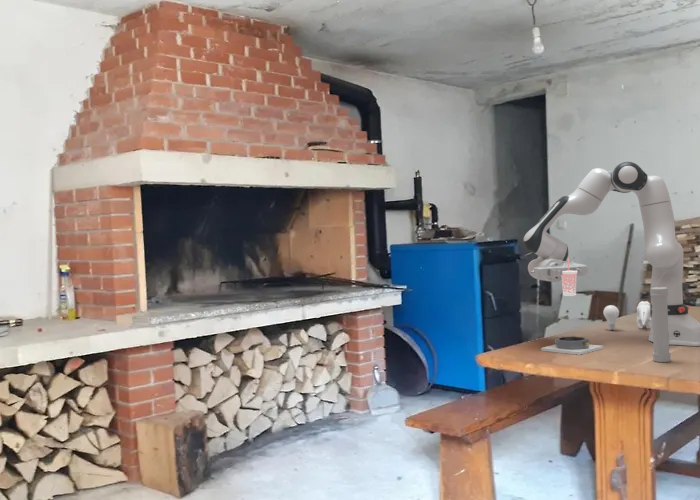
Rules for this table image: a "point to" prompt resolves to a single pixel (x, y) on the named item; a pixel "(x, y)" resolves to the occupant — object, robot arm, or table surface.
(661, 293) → the pipe
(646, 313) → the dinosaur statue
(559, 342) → the collar
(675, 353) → the table surface
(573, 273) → the beverage cup
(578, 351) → the base plate
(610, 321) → the lightbulb
